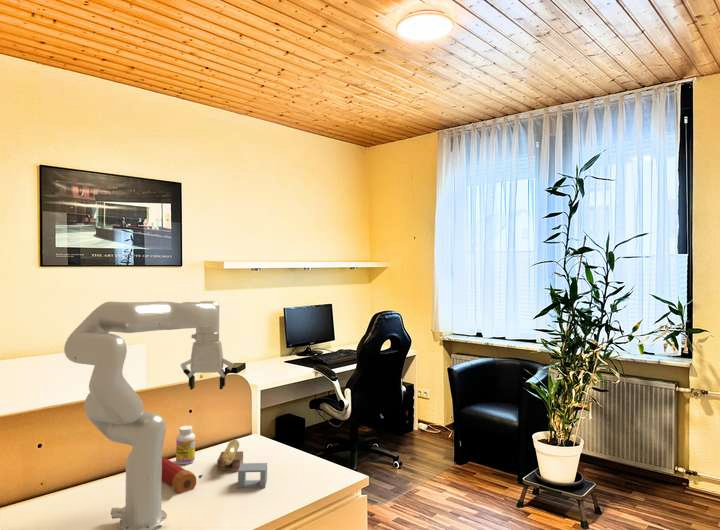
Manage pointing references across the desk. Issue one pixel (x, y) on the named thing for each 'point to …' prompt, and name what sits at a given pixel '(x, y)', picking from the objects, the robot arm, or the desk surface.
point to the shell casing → (177, 476)
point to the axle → (230, 452)
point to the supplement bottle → (185, 445)
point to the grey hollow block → (252, 468)
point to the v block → (234, 465)
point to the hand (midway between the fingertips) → (207, 388)
